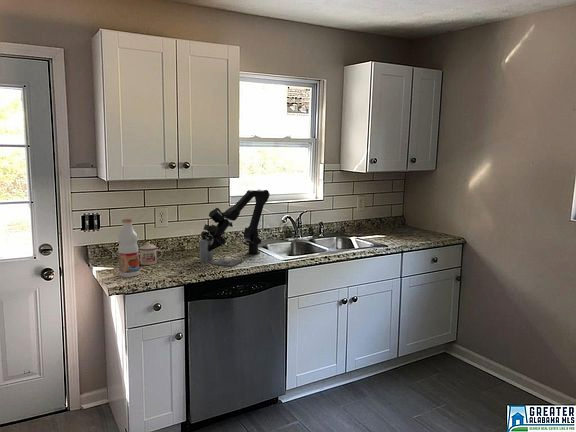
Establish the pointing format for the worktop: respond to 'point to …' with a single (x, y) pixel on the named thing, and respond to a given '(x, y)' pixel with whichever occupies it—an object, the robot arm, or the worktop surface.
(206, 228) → the robot arm
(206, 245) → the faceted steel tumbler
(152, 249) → the teacup with lid
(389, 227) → the worktop surface
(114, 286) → the worktop surface
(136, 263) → the fruit juice
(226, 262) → the rubber mat
